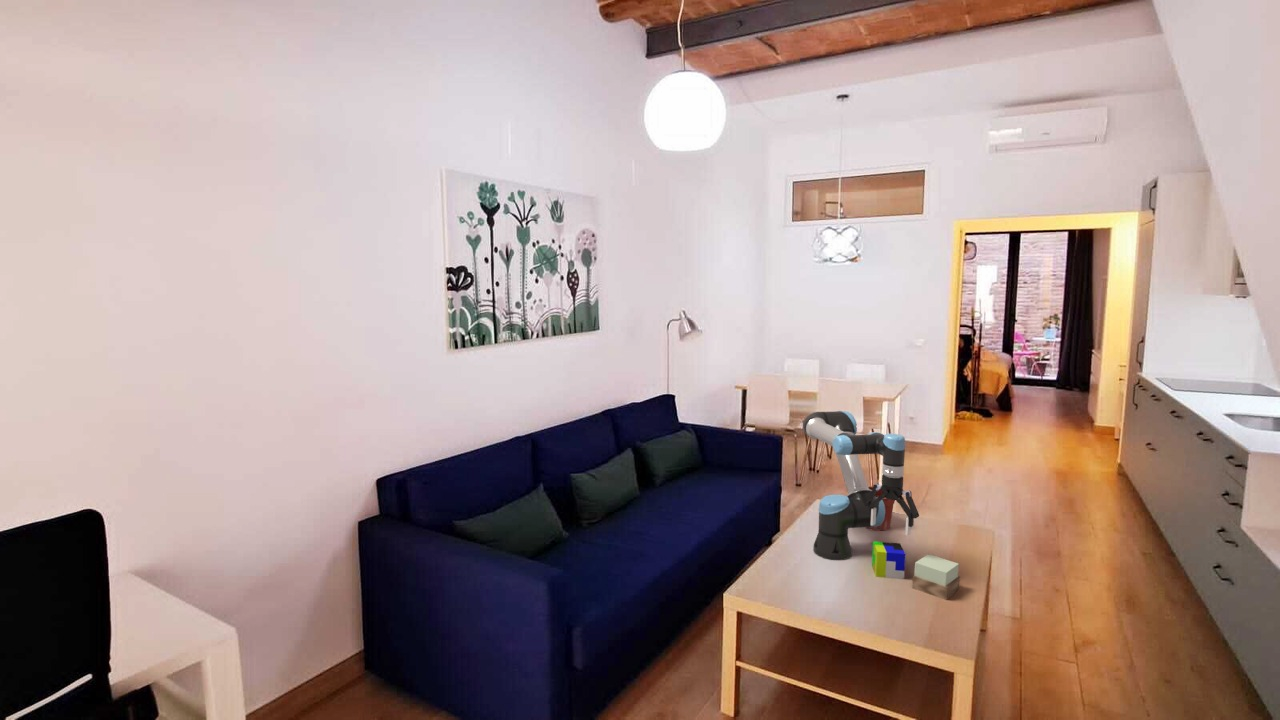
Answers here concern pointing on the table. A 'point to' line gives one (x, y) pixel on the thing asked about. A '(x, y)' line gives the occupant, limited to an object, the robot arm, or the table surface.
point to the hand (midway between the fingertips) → (890, 529)
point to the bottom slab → (936, 587)
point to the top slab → (936, 569)
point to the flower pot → (888, 512)
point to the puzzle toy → (888, 560)
